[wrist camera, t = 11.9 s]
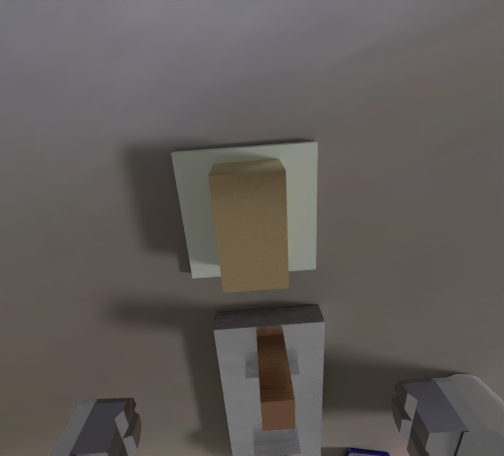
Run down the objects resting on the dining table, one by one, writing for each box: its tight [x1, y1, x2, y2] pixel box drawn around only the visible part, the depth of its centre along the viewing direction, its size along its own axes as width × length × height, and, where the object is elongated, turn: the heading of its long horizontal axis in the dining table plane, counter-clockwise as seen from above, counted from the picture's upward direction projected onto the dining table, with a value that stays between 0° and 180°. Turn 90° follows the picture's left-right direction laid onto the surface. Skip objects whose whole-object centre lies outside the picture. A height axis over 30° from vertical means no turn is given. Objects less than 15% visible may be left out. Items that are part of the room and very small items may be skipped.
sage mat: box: [171, 141, 318, 278], centre depth 25 cm, size 11×11×1 cm
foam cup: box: [448, 374, 504, 437], centre depth 29 cm, size 10×9×13 cm
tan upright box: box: [208, 159, 289, 293], centre depth 23 cm, size 9×5×4 cm, turn 4°
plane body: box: [214, 305, 325, 456], centre depth 30 cm, size 22×10×10 cm, turn 4°
